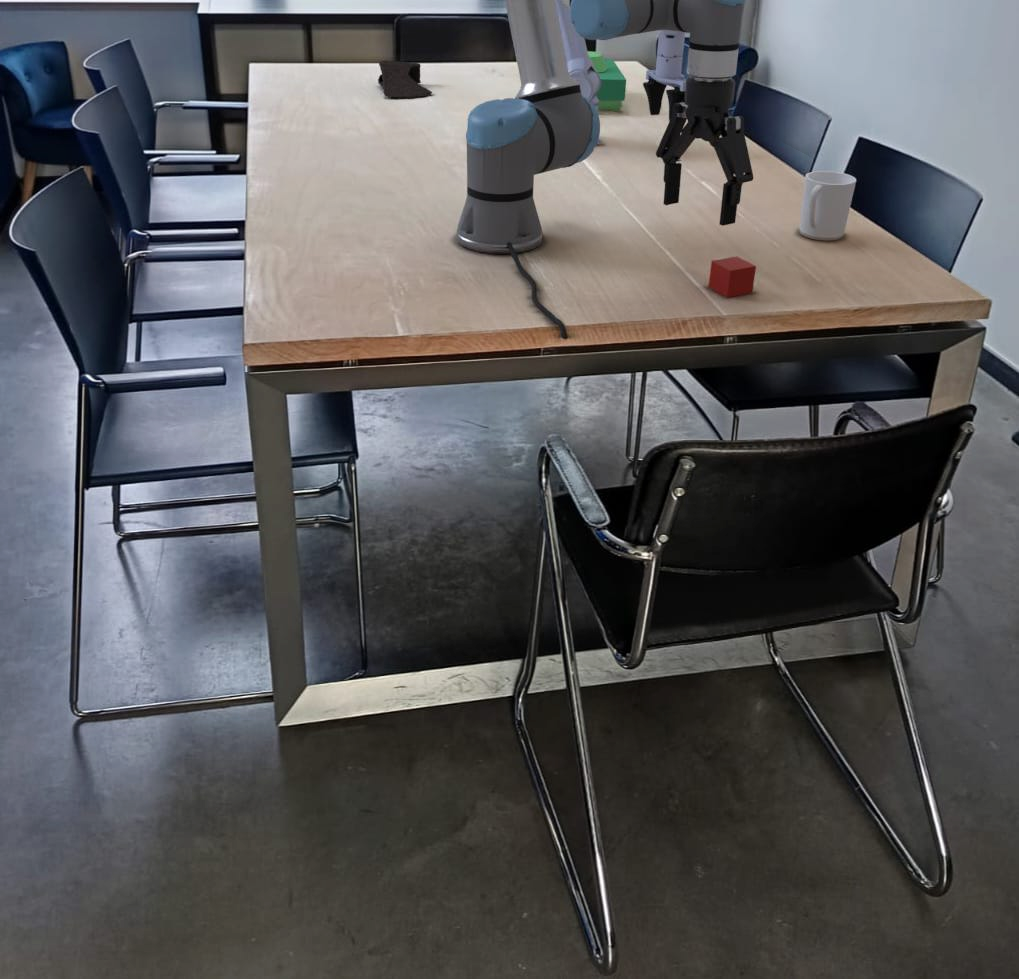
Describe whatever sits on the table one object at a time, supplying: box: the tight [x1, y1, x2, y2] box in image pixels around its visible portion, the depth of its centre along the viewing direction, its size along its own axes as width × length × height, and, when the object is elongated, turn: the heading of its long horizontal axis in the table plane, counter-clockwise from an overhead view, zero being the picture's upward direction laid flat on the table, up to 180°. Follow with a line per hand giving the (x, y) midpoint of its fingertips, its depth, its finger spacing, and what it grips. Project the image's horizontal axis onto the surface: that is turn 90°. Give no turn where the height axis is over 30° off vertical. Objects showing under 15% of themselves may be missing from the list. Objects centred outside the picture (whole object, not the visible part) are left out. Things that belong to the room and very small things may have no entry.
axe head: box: [377, 59, 433, 99], centre depth 299 cm, size 18×8×15 cm
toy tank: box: [566, 50, 627, 112], centre depth 293 cm, size 18×12×35 cm
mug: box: [798, 170, 857, 241], centre depth 199 cm, size 11×9×10 cm
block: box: [708, 256, 757, 298], centre depth 176 cm, size 5×5×4 cm
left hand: (698, 213), depth 179 cm, fingers open, 13 cm apart
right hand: (664, 118), depth 250 cm, fingers open, 7 cm apart
